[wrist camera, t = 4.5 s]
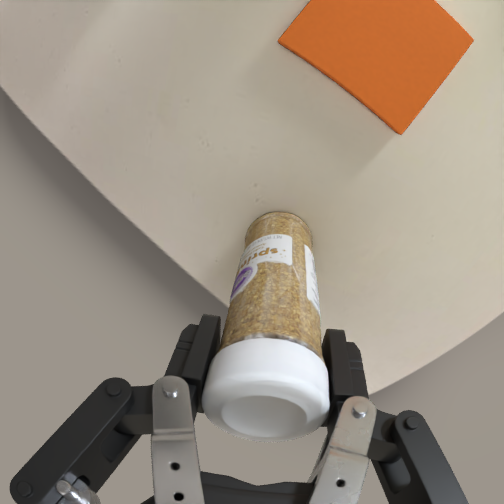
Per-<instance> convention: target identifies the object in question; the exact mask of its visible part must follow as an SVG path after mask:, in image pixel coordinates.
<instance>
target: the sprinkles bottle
mask: <svg viewBox="0 0 504 504" xmlns="http://www.w3.org/2000/svg"><path fill="white" fill-rule="evenodd" d="M312 245H313V243H312V236H311V233H310V231H309V229H308V227H307V225H306V224H305V223H304V222H303V221H302V220H301V219H300V218H298V217H297V216H295V215H292V214H290V213H286V212H273V213H268V214H265V215H263V216H261V217H260V218H258V219H257V220H256V221H254V222H253V223H252V224H251V226H250V227H249V229H248V231H247V234H246V238H245V249H244V253H243V254H242V256H241V259H240V263H239V267H238V271H237V275H236V279H235V282H234V286H233V290H232V294H231V298H230V307H229V310H228V316H227V319H226V323H225V328H224V331H223V335H222V339H221V343H220V347H219V351H218V352H217V354H216V356H215V357H214V358H213V359H212V361H211V364H210V366H209V370H208V373H207V377H206V380H205V385H204V389H203V393H202V408H203V410H204V413H205V414H206V416H207V418H208V419H209V420H210V421H211V422H212V423H213V424H214V425H216V426H217V427H218V428H220V429H221V430H223V431H225V432H227V433H229V434H232V435H234V436H236V437H240V438H243V439H247V440H252V441H259V442H282V441H289V440H294V439H297V438H300V437H303V436H306V435H308V434H310V433H312V432H314V431H315V430H317V429H318V428H319V427H320V426H321V425H322V424H323V423H324V422H325V420H326V418H327V416H328V413H329V408H330V393H329V376H328V371H327V368H326V365H325V362H324V359H323V357H322V348H321V330H320V326H321V315H320V305H319V294H318V285H317V278H316V269H315V262H314V257H313V255H312Z"/></svg>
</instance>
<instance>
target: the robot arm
mask: <svg viewBox="0 0 504 504" xmlns="http://www.w3.org/2000/svg"><path fill="white" fill-rule="evenodd" d="M220 321H221V319H220V316H214V315H207V314H203V316H202V318H201V321H200V324H199V325H193V324H190V325H188V326H187V327H186V328H185V329H184V330H183V331H182V333H181V335H180V338H179V341H178V343H177V345H176V349H175V350H174V353H173V355H172V358H171V360H170V363H169V365H168V368H167V370H166V373H165V375H164V377H162V378H160V379H158V380H157V381H156V382H155V384H153V385H149V386H134V387H131V386H130V384H129V383H128V382H127V381H126V380H124V379H122V378H109V379H107V380H105V381H103V382H102V383H101V384H100V385H99V386H98V387H97V388H96V389H95V390H94V392H92V394H91V395H90V396H89V397H88V398H87V399H86V400H85V401H84V402H83V403H82V404H81V405H80V406H79V407H78V408H77V409H76V410H75V412H74V413H73V414H72V415H71V416H70V417H69V418H68V419H67V420H66V421H65V422H64V423H63V424H62V425H61V426H60V427H59V429H58V430H57V431H56V432H55V433H54V434H53V435H52V436H51V437H50V438H49V439H48V440H47V441H46V443H45V444H44V445H43V446H42V447H41V448H40V449H39V450H38V451H37V452H36V453H35V454H34V456H33V457H32V458H31V459H30V460H29V461H28V462H27V463H26V464H25V465H24V467H22V469H21V470H20V471H19V472H18V473H17V474H16V475H15V476H14V477H13V479H12V480H11V483H10V493H11V495H12V498H13V499H14V501H15V502H16V503H17V504H100V499H99V498H98V496H97V495H96V493H97V492H98V490H99V489H100V488H101V487H102V485H103V484H104V483H105V481H106V480H107V479H108V478H109V477H110V475H111V474H112V473H113V471H114V470H115V469H116V468H117V466H118V465H119V464H120V462H121V461H122V460H123V459H124V457H125V456H126V455H127V454H128V452H129V451H130V450H131V448H132V447H133V446H134V444H135V443H136V442H137V441H138V439H139V438H140V437H141V435H142V434H151V455H152V456H151V457H152V473H153V486H154V495H153V496H152V497H150V498H149V499H147V500H146V501H144V502H143V503H141V504H357V502H358V499H359V496H360V493H361V490H362V486H363V482H364V479H365V476H366V472H367V469H368V465H369V459H371V461H372V463H373V466H374V468H375V471H376V473H377V475H378V478H379V480H380V483H381V485H382V487H383V490H384V492H385V495H386V497H387V499H388V502H389V504H469V503H468V501H467V499H466V497H465V495H464V493H463V491H462V489H461V487H460V485H459V483H458V481H457V479H456V477H455V475H454V473H453V471H452V469H451V467H450V465H449V464H448V462H447V460H446V458H445V456H444V454H443V452H442V450H441V448H440V446H439V445H438V443H437V441H436V439H435V437H434V435H433V434H432V432H431V430H430V428H429V426H428V425H427V423H426V421H425V419H424V418H423V416H422V415H420V414H419V413H417V412H415V411H411V410H407V411H403V412H401V413H399V415H398V416H395V415H392V414H388V413H385V412H382V411H380V410H378V409H376V407H375V405H374V404H373V402H372V401H371V400H369V397H368V392H367V386H366V380H365V374H364V370H363V363H362V358H361V353H360V350H359V349H358V347H357V346H356V345H355V343H354V342H346V337H345V332H344V330H337V329H327V330H326V333H325V336H324V339H323V343H322V346H321V348H322V357H323V359H324V362H325V365H326V368H327V371H328V376H329V393H330V408H329V413H328V416H327V418H326V420H325V422H324V423H323V424H322V425H321V426H320V427H327V429H328V434H327V436H326V438H325V440H324V443H323V446H322V448H321V451H320V454H319V456H318V459H317V461H316V464H315V467H314V469H313V472H312V474H311V476H310V478H309V480H308V482H307V483H299V482H282V483H275V484H268V485H260V486H256V485H252V484H249V483H246V482H243V481H241V480H238V479H235V478H233V477H230V476H226V475H219V474H213V473H208V472H202V471H200V466H199V459H198V452H197V445H196V438H195V430H194V421H195V417H196V413H197V412H199V413H204V410H203V408H202V393H203V389H204V385H205V380H206V377H207V373H208V370H209V366H210V364H211V361H212V359H213V358H214V357H215V356H216V354H217V352H218V351H219V347H220Z"/></svg>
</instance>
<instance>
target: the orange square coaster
mask: <svg viewBox="0 0 504 504" xmlns="http://www.w3.org/2000/svg"><path fill="white" fill-rule="evenodd" d="M473 41H474V39H473V38H472V37H471V36H470V35H469V34H468V33H467V32H466V31H465V30H464V29H463V28H462V27H461V26H460V24H459V23H458V22H457V21H456V20H455V19H454V18H453V17H452V16H450V15H449V14H448V13H447V12H446V11H445V10H444V9H443V8H442V7H441V6H440V5H439V4H438V3H437V2H436V1H434V0H311V1H310V2H309V3H308V4H307V5H306V6H305V8H304V9H303V10H302V11H301V12H300V14H299V15H298V16H297V17H296V18H295V20H294V21H293V22H292V23H291V25H290V26H289V27H288V28H287V30H286V31H285V32H284V33H283V35H282V36H281V37H280V38H279V40H278V43H279V44H281V45H282V46H284V47H285V48H287V49H289V50H290V51H292V52H293V53H295V54H296V55H298V56H299V57H301V58H302V59H304V60H305V61H307V62H308V63H310V64H311V65H312V66H314V67H315V68H317V69H318V70H320V71H321V72H322V73H324V74H325V75H327V76H328V77H329V78H331V79H332V80H333V81H335V82H336V83H337V84H339V85H340V86H341V87H343V88H344V89H345V90H346V91H348V92H349V93H350V94H352V95H353V96H354V97H355V98H357V99H358V100H359V101H360V102H361V103H363V104H364V105H365V106H366V107H368V108H369V109H370V110H371V111H372V112H373V113H375V114H376V115H377V116H378V117H379V118H380V119H382V120H383V121H384V122H385V123H386V124H387V125H388V126H389V127H391V128H392V129H393V130H394V131H395V132H396V133H398V134H400V135H402V134H403V132H404V131H405V130H406V129H407V127H408V126H409V125H410V124H411V122H412V121H413V120H414V119H415V117H416V116H417V115H418V113H419V112H420V111H421V110H422V108H423V107H424V106H425V105H426V103H427V102H428V101H429V99H430V98H431V97H432V96H433V94H434V93H435V92H436V90H437V89H438V88H439V86H440V85H441V84H442V83H443V81H444V80H445V79H446V77H447V76H448V75H449V73H450V72H451V71H452V69H453V68H454V67H455V65H456V64H457V63H458V61H459V60H460V59H461V57H462V56H463V55H464V53H465V52H466V51H467V49H468V48H469V46H470V45H471V44H472V42H473Z"/></svg>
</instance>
